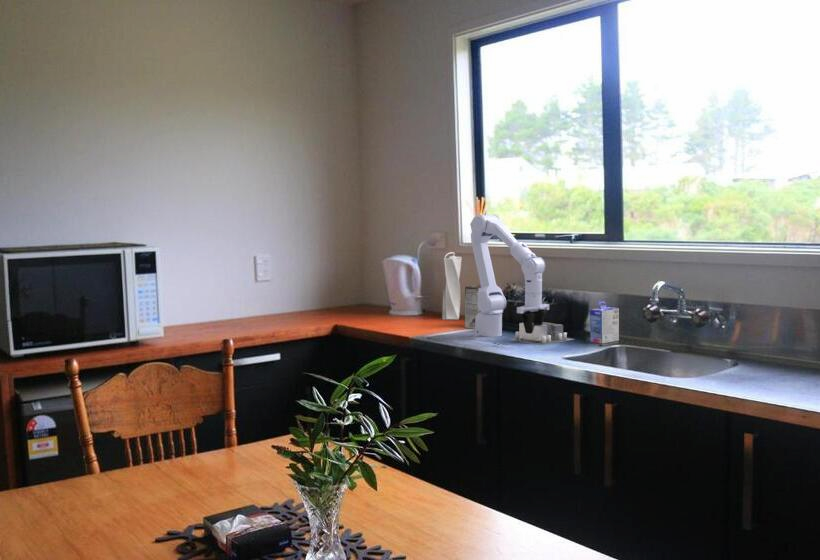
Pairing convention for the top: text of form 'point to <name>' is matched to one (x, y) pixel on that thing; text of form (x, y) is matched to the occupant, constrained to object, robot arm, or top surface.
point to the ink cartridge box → (604, 324)
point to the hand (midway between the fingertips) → (532, 332)
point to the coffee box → (471, 305)
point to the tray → (544, 341)
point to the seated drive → (554, 330)
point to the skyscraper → (452, 288)
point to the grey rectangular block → (533, 332)
